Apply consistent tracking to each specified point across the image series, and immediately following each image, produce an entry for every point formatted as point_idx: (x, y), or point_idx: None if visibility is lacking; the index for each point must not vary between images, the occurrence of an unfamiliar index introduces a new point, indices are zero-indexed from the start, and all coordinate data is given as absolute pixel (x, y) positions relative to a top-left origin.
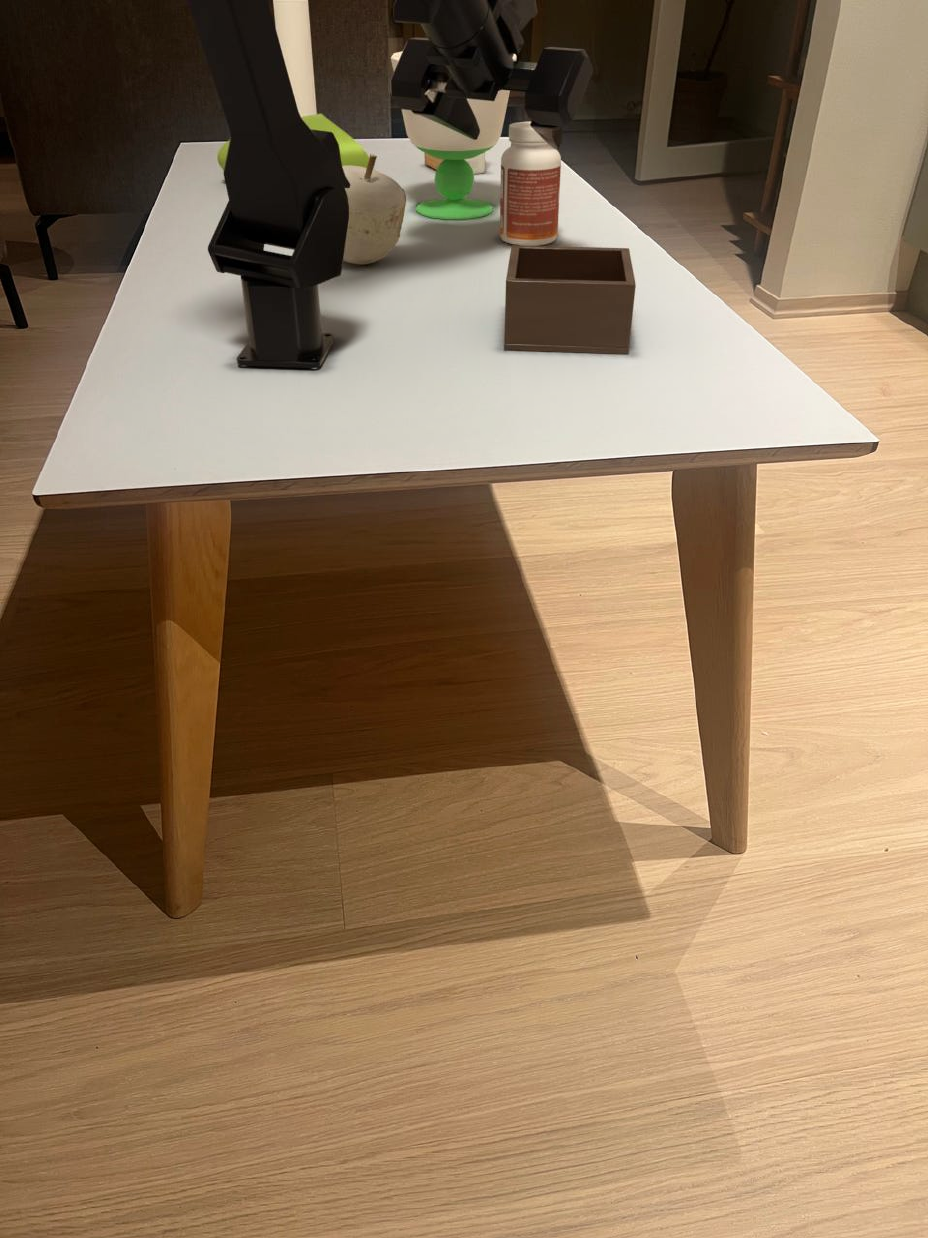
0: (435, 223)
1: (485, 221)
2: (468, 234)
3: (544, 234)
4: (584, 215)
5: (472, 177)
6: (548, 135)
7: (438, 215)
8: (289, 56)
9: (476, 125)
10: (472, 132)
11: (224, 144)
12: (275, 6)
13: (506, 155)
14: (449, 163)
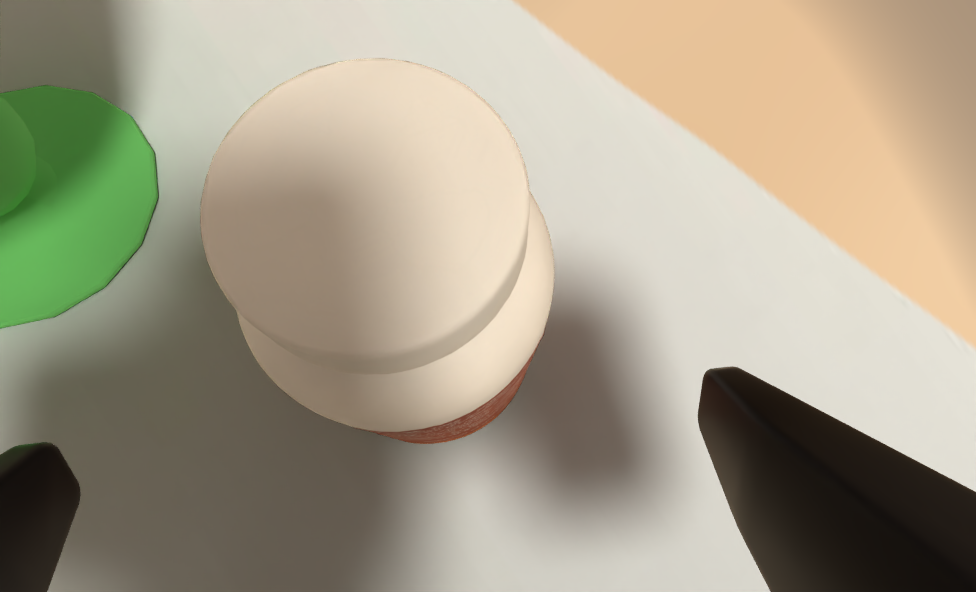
0: (51, 376)
1: (192, 252)
2: (227, 418)
3: (522, 380)
4: (417, 26)
5: (9, 125)
6: None
7: (21, 314)
8: None
9: (9, 505)
10: (35, 566)
11: None
12: None
13: (310, 398)
14: None
